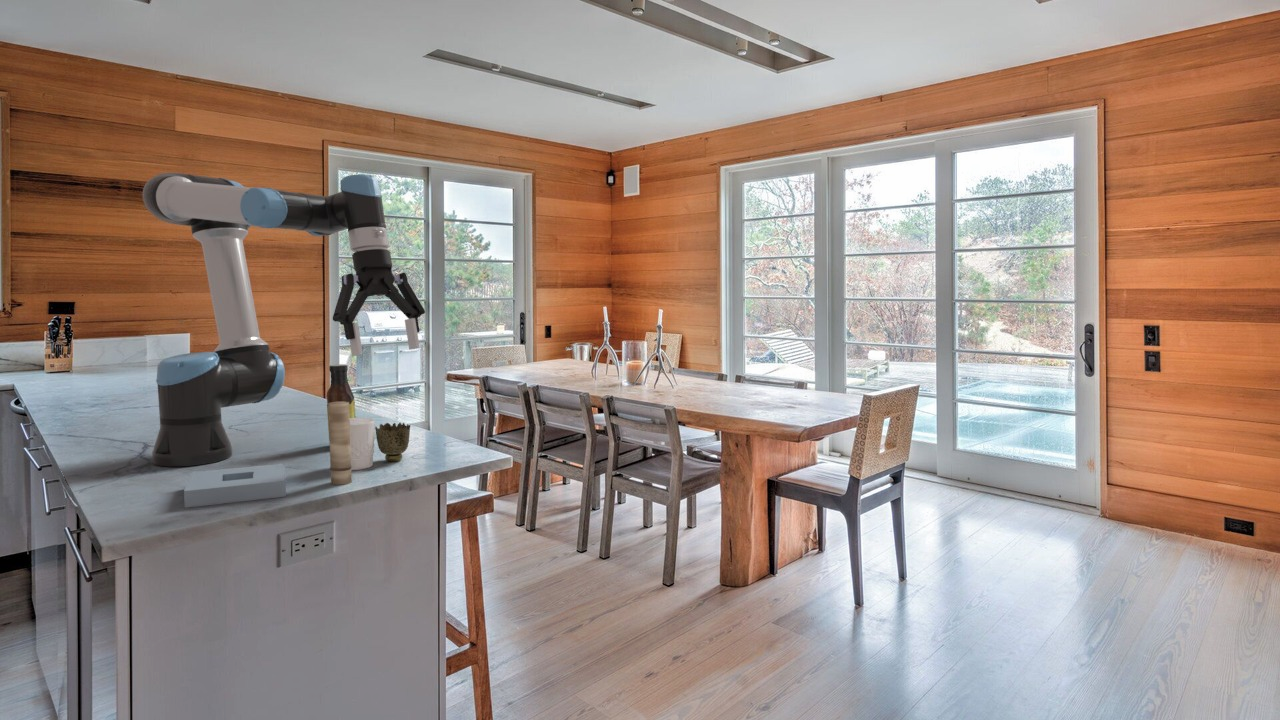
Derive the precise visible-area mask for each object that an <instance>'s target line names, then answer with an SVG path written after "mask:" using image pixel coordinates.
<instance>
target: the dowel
mask: <svg viewBox="0 0 1280 720" xmlns="http://www.w3.org/2000/svg"><path fill="white" fill-rule="evenodd" d="M328 410H329V430H328V440H329V439H330V441H329V458H330V459H329V460H330V461H329V462H330V463H329V464H330V468H329V469H330V484H331V485H333V486H342V485H348V484H351V483H352V480H353V478H352V470H351V446H350V415H349V402H331V403H328Z"/></svg>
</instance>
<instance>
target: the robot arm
mask: <svg viewBox="0 0 1280 720" xmlns="http://www.w3.org/2000/svg"><path fill="white" fill-rule="evenodd" d="M339 188H340V189H339V190H340V191H339V192H337V193H333V194H331V195H325V196H324V195H316V194H309V193H302V192H295V191H293V192H292V191H286V190H281V189H274V188H269V187H250V186H249V187H248V186H243V185H242V183H240V182H237V181H234V180H229V179H226V178H222V177H211V176H203V175H195V174H191V173H190V174H189V173H188V174H187V173H183V172H173V171H172V172H163V173H159V174H156V175H155V176H152V177H151V178H150V179H148V181H147V182H145V184H144V186H143V190H142V201H143V204H144V205H145V208H146V209H147V211H148V212H149V213H150V214H151V215H152V216H154V217H155V218H156V219H158V220H160V221H162V222H165V223H169V224H172V225H178V226H188V227H190V229H191V234H192V237H193V239H195V240H196V241H198V242H199V243H200V244H201V248H202V254H203V259H204V265H205V271H206V275H207V280H208V287H209V292H210V297H211V303H212V308H213V313H214V318H215V324H216V330H217V336H218V341H219V343H218V345H217V346H216V348H215V349H214V350H213V351H198V352H189V353H183V354H177V355H174V356H173V355H172V356H170V357H166V358H164V359H162V360H161V361H160V362H159V363H158V365H157V369H156V379H155V381H156V384H157V395H158V397H157V398H158V410H159V412H158V413H159V429H158V433H157V436H156V440H155V443H154V446H153V449H152V453H151V454H152V458H151V459H152V464H153V465H156V466H161V467H191V466H198V465H199V466H200V465H204V464H205V465H207V464H212V463H217V462H220V461H224V460H226V459H230V458H231V457H232V455H233V449H232V448H233V446H232V443H231V441H230V439H229V436H228V434H227V432H226V430H225V429H226V428H225V427H224V426H223V425H224V424H223V422H222V408H230V407H235V406H242V405H247V404H258V403H261V402H264V401H269V400H271V399H274V398H275V397H276V396H277V395H278V394H279V393H280V391H281V389H282V388H283V386H284V384H285V383H284V382H285V378H286V376H285V375H286V374H285V372H286V371H285V365H284V362H283V360H282V359H281V358H280V356H279V355H278V354H276V353H275V352H272V351H271V350H270V344H269V343H268V342H266V341H265V340H264V339H262V338H261V335H260V330H259V324H258V318H257V314H256V307H255V301H254V295H253V291H252V285H251V279H250V274H249V269H248V264H247V257H246V251H245V247H244V242H243V241H244V240H245V238H246V237H247V236H248V234H249V229H250V228H251V227H252V226H253V227H259V228H262V229H278V230H279V229H282V230H296V231H305V232H306V233H308V234H310V235H311V236H313V237H323V236H330V235H332V234H334V235H335V233H339V232H341V231H344V230H345V231H346V230H347V233H348V238H349V246H350V250H351V251H352V253H353V254H352V255H351V256H352V263H353V269H354V271H355V274H353V273H348V274H343V275H342V276H341V289H340V291H339V295H338V299H337V301H336V302H337V303H336V306H335V308H334V312H333V315H332V321H334V322H335V323H336V322H338V323H340V325H343V329H344V336H345V339H346V340H348V341H349V347H350V352H351V356H352V357H356V356H357V357H358V356H362V355H363V353H364V352H363V348H362V340H361V336H360V335H361V334H360V328H359V323H358V322H357V321H356V322H355V319H356V317H357V316H358V314H359V312H360V310H361V309H362V307H363V305H364V304H365V303H366V300H367V299H368V297H374V296H378V297H379V296H380V297H382V296H385V297H386V298H388V299H389V300H390V301H391V302H392V303H393V304H394V305H395V306H396V307H397V309H399V310H400V312H402V313H403V315H404V316H405V317H406V318H407V319H404V324H405V331H406V337H407V343H408V350H417V349H420V347H421V346H420V341H419V335H418V333H420V325H419V318H420V317H421V316H423V315H424V314H425V313H426V311H425V308H424V307H423V305H422V303H421V301H420V300H419V298H418V296H417V295H416V293H415V292H414V290H413V289H412V287H411V285H410V283H409V280H408V276H407V274H406V272H401V273H398V274H394V273H393V271H392V269H393V261H392V256H391V251H390V250H388V248H389V247H390V245H389V238H388V232H387V226H386V219H385V214H384V205H383V195H382V192H381V188H380V184H379V180H378V179H377V177H375V176H372V175H370V174H361V173H360V174H357V173H356V174H351V175H346V176H344V177H343V178H342V179H341V180H340V187H339ZM356 284H357V286H358V287H359V288H358V290H357V292H356V293H355V297H353V300H352V302H351V304H350V301H351V297H352V296H353V295H352V294H353V292H354V287H355V285H356ZM394 284H396V285H397V287H396V285H394ZM349 304H350V305H349ZM270 351H271V352H270Z"/></svg>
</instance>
